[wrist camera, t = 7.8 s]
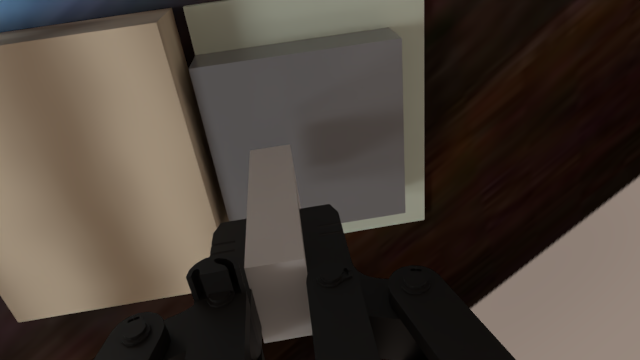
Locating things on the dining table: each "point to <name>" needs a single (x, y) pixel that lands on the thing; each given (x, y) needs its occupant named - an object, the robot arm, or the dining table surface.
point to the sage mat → (325, 20)
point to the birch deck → (101, 166)
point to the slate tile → (310, 119)
